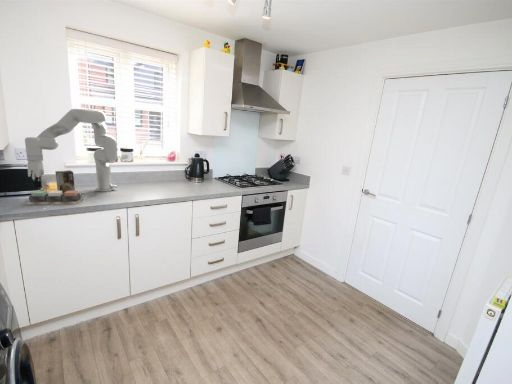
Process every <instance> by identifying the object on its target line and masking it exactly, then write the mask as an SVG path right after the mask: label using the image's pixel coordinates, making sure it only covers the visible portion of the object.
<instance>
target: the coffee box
mask: <svg viewBox="0 0 512 384" xmlns="http://www.w3.org/2000/svg"><path fill="white" fill-rule="evenodd" d="M55 179H56V188H57V190H56V191H62V192H63V193H65V192H66V191H76V188H75V187H76V186H75V177H74V171H72V170H58V171H57V170H56V171H55Z"/></svg>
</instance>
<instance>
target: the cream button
mask: <svg viewBox="0 0 512 384" xmlns="http://www.w3.org/2000/svg"><path fill="white" fill-rule="evenodd" d="M47 193H48V196H61V195H62V194H63V192H62V191H58V190H50V191H49V192H47Z"/></svg>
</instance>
